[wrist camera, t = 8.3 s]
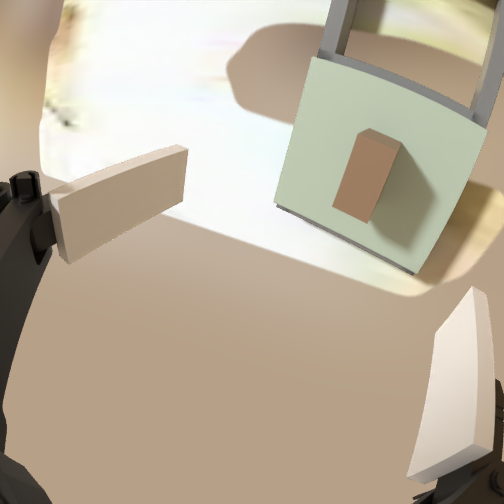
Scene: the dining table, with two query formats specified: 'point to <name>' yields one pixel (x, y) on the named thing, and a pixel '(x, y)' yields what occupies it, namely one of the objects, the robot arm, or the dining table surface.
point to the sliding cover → (376, 162)
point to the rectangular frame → (495, 64)
